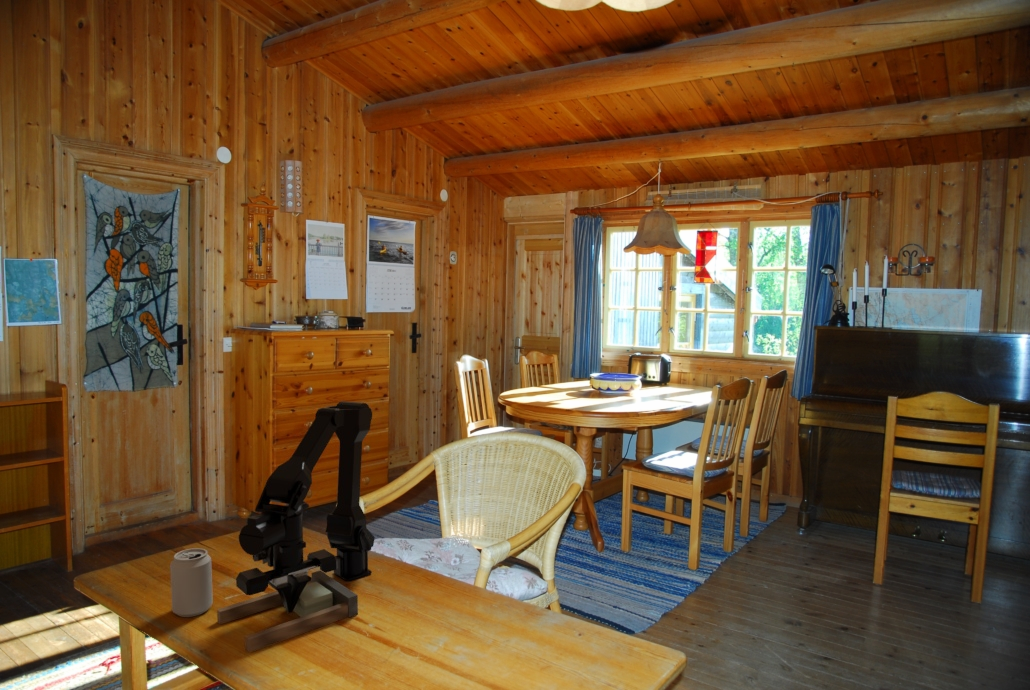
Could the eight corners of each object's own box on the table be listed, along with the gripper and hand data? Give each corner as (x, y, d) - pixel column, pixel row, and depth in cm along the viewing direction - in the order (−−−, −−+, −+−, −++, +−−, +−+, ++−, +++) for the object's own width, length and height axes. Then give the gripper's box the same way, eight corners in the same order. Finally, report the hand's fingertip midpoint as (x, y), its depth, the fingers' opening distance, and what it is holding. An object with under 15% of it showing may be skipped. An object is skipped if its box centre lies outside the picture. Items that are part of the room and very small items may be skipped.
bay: (320, 588, 151) (320, 570, 151) (357, 614, 139) (357, 595, 139) (217, 621, 136) (216, 601, 136) (249, 653, 124) (248, 632, 124)
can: (197, 620, 136) (194, 561, 135) (163, 616, 138) (161, 558, 137) (220, 603, 143) (218, 547, 142) (188, 600, 145) (186, 544, 144)
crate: (316, 599, 146) (316, 581, 146) (332, 611, 141) (332, 592, 140) (289, 608, 142) (288, 589, 142) (304, 621, 137) (304, 601, 136)
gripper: (313, 515, 149) (314, 585, 150) (224, 536, 136) (226, 612, 137) (338, 529, 140) (339, 603, 142) (246, 553, 128) (248, 634, 129)
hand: (289, 612), depth 138 cm, fingers closed
